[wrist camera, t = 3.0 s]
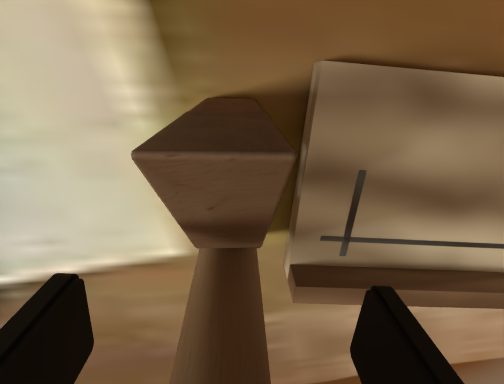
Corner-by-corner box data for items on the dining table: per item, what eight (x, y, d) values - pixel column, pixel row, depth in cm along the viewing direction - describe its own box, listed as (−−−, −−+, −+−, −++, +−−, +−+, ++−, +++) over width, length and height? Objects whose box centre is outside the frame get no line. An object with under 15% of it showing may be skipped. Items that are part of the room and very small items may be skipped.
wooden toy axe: (257, 98, 19) (395, 265, 2) (253, 235, 23) (292, 646, 6) (202, 97, 19) (-73, 270, 2) (208, 235, 23) (130, 659, 6)
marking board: (313, 61, 18) (336, 58, 14) (693, 96, 20) (810, 102, 16) (283, 264, 24) (293, 303, 20) (577, 275, 26) (640, 312, 22)
